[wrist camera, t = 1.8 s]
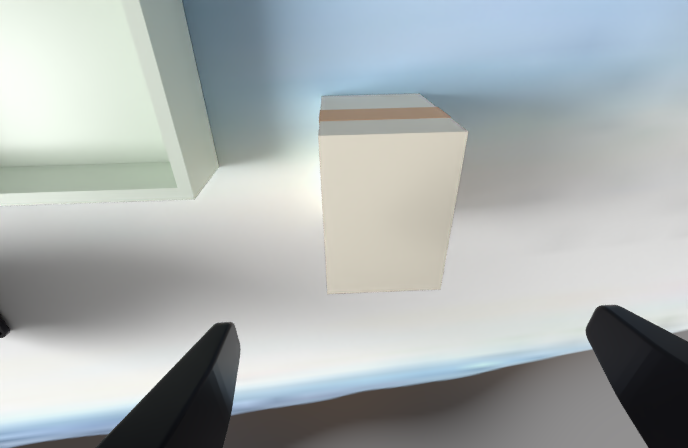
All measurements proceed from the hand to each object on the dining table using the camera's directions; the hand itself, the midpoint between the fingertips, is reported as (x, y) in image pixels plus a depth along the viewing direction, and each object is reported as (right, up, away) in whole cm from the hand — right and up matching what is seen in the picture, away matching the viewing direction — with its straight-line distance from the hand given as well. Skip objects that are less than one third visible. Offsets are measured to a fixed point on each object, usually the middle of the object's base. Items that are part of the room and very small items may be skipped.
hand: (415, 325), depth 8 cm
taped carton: (0, +6, +11) cm, 12 cm away
